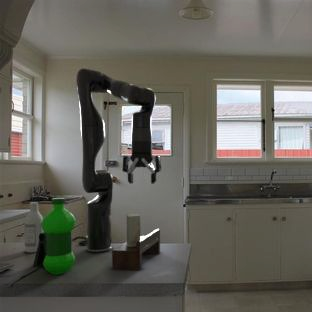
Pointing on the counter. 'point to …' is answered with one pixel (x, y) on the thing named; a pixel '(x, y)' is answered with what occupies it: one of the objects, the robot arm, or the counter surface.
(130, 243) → the box
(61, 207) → the plastic bottle
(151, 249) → the shelf
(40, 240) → the phone stand
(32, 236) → the bath foam
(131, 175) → the robot arm
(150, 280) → the counter surface
